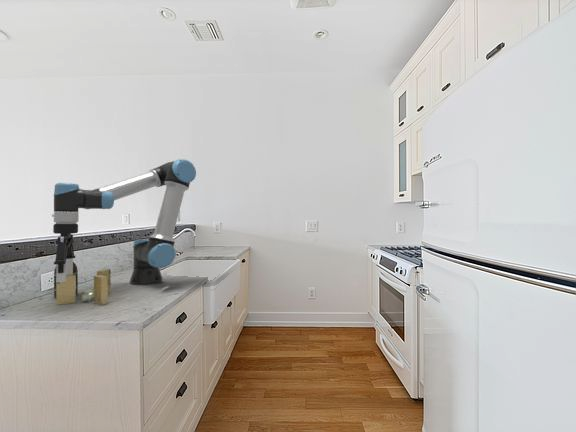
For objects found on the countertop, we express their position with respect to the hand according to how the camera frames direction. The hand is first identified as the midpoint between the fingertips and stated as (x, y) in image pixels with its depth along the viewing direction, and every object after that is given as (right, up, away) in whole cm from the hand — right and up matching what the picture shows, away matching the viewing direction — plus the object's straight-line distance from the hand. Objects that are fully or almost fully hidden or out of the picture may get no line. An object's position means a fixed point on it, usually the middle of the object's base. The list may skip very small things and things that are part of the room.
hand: (64, 278), depth 108 cm
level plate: (+7, -11, +4) cm, 14 cm away
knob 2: (+7, -10, +12) cm, 17 cm away
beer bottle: (-7, -11, +9) cm, 16 cm away
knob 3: (+14, -10, 0) cm, 17 cm away
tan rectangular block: (0, -10, 0) cm, 10 cm away
